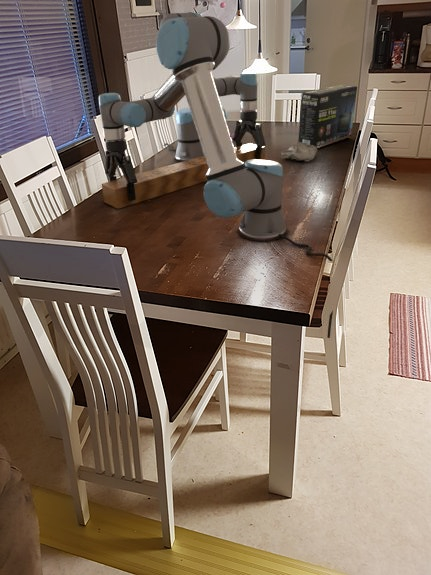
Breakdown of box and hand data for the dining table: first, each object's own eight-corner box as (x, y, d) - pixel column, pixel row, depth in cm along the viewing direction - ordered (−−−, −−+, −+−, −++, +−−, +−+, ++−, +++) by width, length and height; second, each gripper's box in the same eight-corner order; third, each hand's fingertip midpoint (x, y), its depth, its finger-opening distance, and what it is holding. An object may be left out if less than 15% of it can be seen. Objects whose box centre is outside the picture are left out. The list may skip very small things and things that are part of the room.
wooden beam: (117, 208, 172) (115, 189, 168) (104, 202, 179) (101, 183, 175) (264, 162, 218) (265, 146, 214) (249, 158, 224) (249, 143, 220)
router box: (314, 151, 231) (318, 94, 217) (296, 148, 237) (299, 92, 224) (352, 138, 251) (358, 85, 238) (335, 135, 258) (340, 83, 245)
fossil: (311, 156, 210) (288, 135, 213) (297, 175, 216) (275, 154, 219) (325, 153, 223) (304, 133, 226) (312, 171, 230) (290, 152, 233)
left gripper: (274, 112, 199) (272, 162, 211) (236, 106, 215) (236, 153, 226) (262, 114, 195) (261, 165, 207) (224, 108, 211) (225, 156, 222)
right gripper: (142, 142, 161) (149, 201, 172) (107, 132, 177) (115, 187, 188) (124, 146, 157) (132, 206, 168) (90, 136, 172) (99, 191, 184)
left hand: (248, 159), depth 216 cm, fingers open, 12 cm apart
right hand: (123, 196), depth 178 cm, fingers open, 12 cm apart
